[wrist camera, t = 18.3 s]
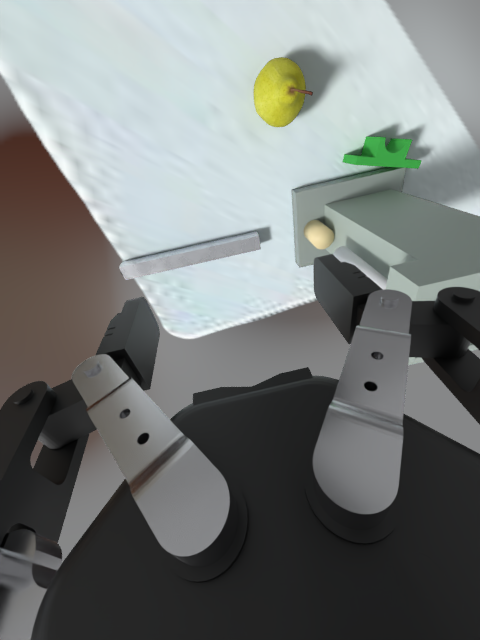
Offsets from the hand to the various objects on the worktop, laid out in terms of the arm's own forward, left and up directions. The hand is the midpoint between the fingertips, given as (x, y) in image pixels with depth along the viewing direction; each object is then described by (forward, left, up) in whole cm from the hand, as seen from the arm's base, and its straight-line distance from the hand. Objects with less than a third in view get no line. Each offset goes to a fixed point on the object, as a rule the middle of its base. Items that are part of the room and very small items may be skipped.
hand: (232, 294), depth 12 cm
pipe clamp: (+2, +29, -38) cm, 48 cm away
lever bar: (+12, -6, -38) cm, 40 cm away
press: (+12, +23, -38) cm, 46 cm away
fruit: (-8, +12, -38) cm, 41 cm away
